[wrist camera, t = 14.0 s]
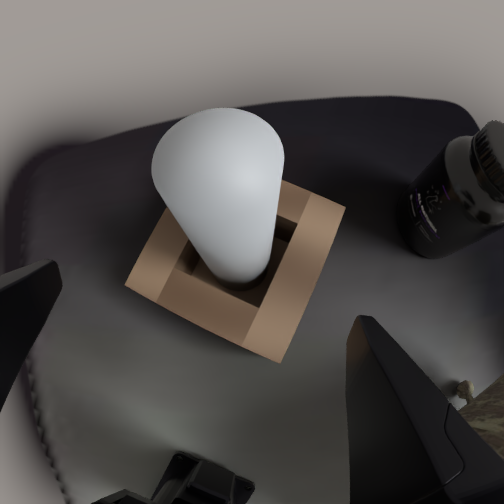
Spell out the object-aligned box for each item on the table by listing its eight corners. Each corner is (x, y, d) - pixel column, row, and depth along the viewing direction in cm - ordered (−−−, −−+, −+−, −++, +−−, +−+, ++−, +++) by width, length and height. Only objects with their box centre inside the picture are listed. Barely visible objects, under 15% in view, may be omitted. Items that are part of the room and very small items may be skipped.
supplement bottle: (381, 230, 23) (463, 147, 11) (410, 174, 24) (476, 88, 13) (442, 277, 21) (544, 229, 10) (464, 217, 23) (546, 154, 11)
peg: (230, 302, 20) (186, 245, 8) (201, 253, 21) (134, 145, 9) (279, 271, 21) (311, 174, 8) (249, 225, 22) (240, 92, 9)
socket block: (274, 357, 20) (280, 363, 15) (151, 296, 21) (124, 284, 17) (328, 234, 23) (345, 207, 18) (212, 185, 24) (202, 150, 19)
